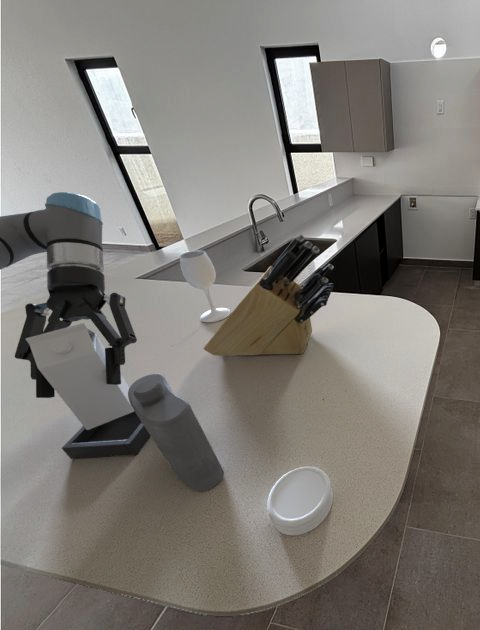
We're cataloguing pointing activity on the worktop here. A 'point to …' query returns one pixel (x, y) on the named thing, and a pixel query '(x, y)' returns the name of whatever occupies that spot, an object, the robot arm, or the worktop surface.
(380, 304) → the worktop surface
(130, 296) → the worktop surface
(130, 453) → the tray
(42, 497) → the worktop surface
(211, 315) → the wineglass
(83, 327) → the milk carton
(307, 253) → the knife block
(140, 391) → the flask
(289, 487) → the coaster
